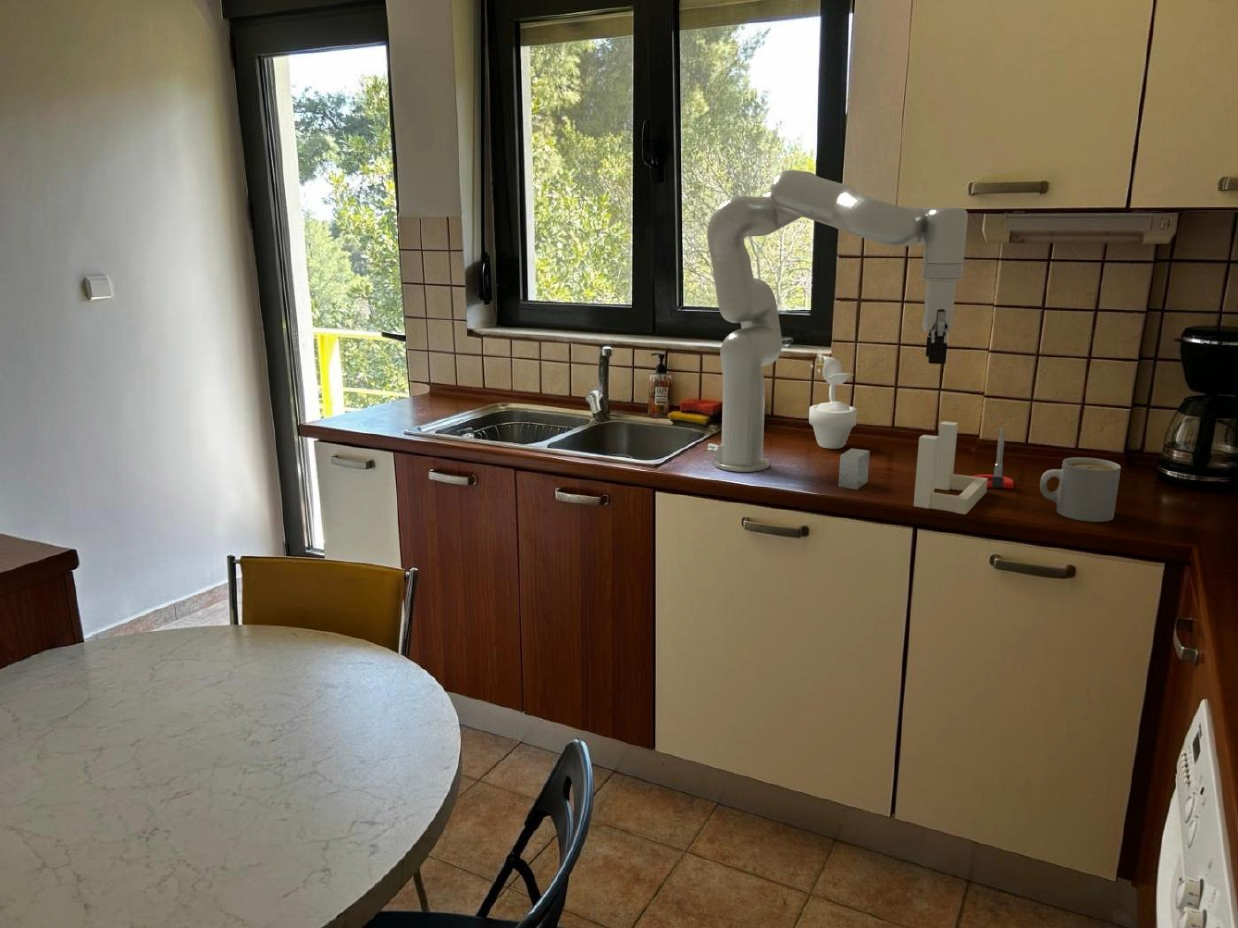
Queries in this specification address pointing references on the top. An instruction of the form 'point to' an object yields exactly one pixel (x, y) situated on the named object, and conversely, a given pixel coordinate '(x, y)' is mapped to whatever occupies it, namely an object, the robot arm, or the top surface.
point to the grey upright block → (853, 468)
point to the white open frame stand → (944, 474)
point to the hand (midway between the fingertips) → (935, 360)
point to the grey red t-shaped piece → (998, 469)
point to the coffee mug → (1084, 488)
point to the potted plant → (832, 410)
